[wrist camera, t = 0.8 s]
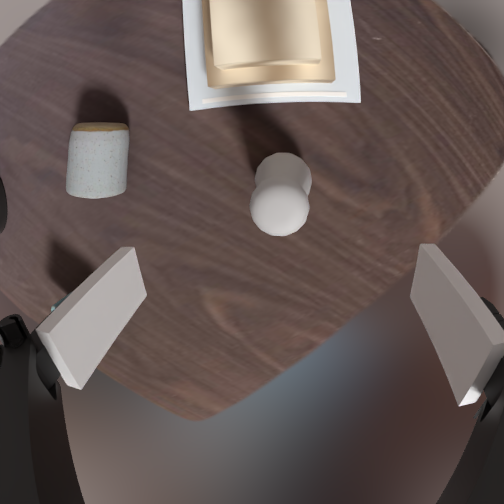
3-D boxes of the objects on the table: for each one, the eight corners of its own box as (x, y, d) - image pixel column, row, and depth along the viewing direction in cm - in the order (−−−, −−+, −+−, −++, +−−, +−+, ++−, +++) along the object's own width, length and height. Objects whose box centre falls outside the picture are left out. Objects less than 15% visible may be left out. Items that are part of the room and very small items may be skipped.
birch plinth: (215, 89, 28) (198, 83, 22) (208, -6, 23) (192, -26, 17) (331, 83, 26) (340, 75, 21) (320, -14, 21) (325, -38, 16)
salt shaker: (320, 181, 32) (337, 221, 20) (279, 210, 34) (272, 264, 22) (288, 139, 30) (286, 153, 19) (246, 170, 32) (220, 203, 21)
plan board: (192, 110, 30) (189, 110, 29) (184, -11, 23) (181, -14, 22) (358, 102, 27) (361, 102, 26) (343, -22, 20) (345, -26, 20)
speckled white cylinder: (142, 121, 31) (105, 125, 24) (137, 186, 35) (103, 205, 28) (76, 120, 32) (36, 126, 25) (75, 178, 35) (38, 193, 28)
